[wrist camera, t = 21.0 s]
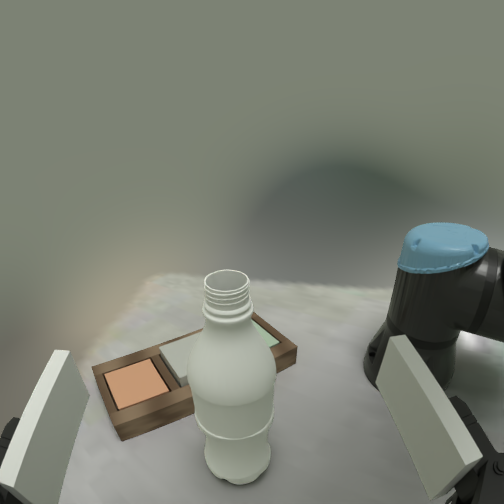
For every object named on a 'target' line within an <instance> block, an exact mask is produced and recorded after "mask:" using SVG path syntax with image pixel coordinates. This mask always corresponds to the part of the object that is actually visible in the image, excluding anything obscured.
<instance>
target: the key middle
mask: <svg viewBox="0 0 504 504" xmlns="http://www.w3.org/2000/svg"><path fill="white" fill-rule="evenodd" d="M200 334H201V332H199V333H196V334H194V335H191V336H188V337H185V338H183V339H180V340H177V341H174V342H172V343H169V344H166V345H163V346H160V347H159V350H160V354H161V359H162V361H163V363H164V364H165V366H166V367H167V369H168V370H169V372H170V373H171V375H172V376H173V378H174V379H175V381H176V382H177V384H178V385H179V387H180V388H181V387H184V386H186V385H189V383H188V379H187V364H188V359H189V356H190V353H191V351H192V349H193V346H194V344H195V342H196V341H197V339H198V337H199V335H200Z"/></svg>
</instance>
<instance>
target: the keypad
mask: <svg viewBox="0 0 504 504" xmlns="http://www.w3.org/2000/svg"><path fill="white" fill-rule="evenodd" d="M251 319H252V320H253V321H254V322H256V323H257V324H258V325H259V326H260V327H262V328H263V329H264V330H265V331H266V332H268V333H269V334H270V335H271V336H273V337H274V338H275V339H276V340H277V341H279V344H278V345H276V346H274V347H272V348H270V350H271V352H272V354H273V356H274V360H275V364H276V373H278V372H280V371H282V370H284V369H286V368H288V367H290V366H291V365H293V364H295V363H296V356H297V346H296V345H295V344H294V343H292V342H291V341H290V340H289V339H287V338H286V337H285V336H283V335H282V334H281V333H280V332H278V331H277V330H276V329H275V328H273V327H272V326H271V325H269V324H268V323H267V322H266V321H264V320H263V319H262V318H261V317H259V316H258V315H257V314H256V313H254V312H253V314H252V315H251ZM202 330H203V328H202V329H200V330H197V331H194V332H192V333H189V334H186V335H183V336H181V337H178V338H175V339H172V340H169V341H167V342H164V343H161V344H158V345H155V346H152V347H150V348H147V349H144V350H141V351H138V352H135V353H132V354H129V355H126V356H123V357H120V358H117V359H114V360H111V361H108V362H105V363H102V364H99V365H96V366H92V370H93V373H94V376H95V379H96V382H97V384H98V387H99V390H100V393H101V395H102V398H103V401H104V403H105V406H106V408H107V411H108V413H109V416H110V418H111V421H112V423H113V426H114V428H115V430H116V431H117V433H118V435H119V437H120V439H121V441H124V440H127V439H130V438H133V437H135V436H138V435H141V434H144V433H146V432H149V431H151V430H154V429H157V428H159V427H162V426H164V425H167V424H169V423H172V422H174V421H177V420H179V419H181V418H184V417H186V416H188V415H191V414H193V413H195V406H194V401H193V396H192V391H191V387H190V385H186V386H184V387H181V388H180V387H179V385H178V384H177V382H176V381H175V379H174V378H173V376H172V375H171V373H170V372H169V370H168V369H167V367H166V366H165V364H164V363H163V361H162V359H161V354H160V350H159V347H160V346H163V345H166V344H169V343H172V342H174V341H177V340H180V339H183V338H185V337H188V336H191V335H194V334H196V333H199V332H202ZM147 359H150V360H151V362H152V364H153V365H154V367H155V369H156V370H157V372H158V374H159V375H160V377H161V379H162V380H163V382H164V383H165V385H166V387H167V388H168V390H169V393H166V394H164V395H161V396H158V397H156V398H153V399H150V400H148V401H145V402H142V403H140V404H137V405H134V406H131V407H129V408H126V409H123V410H120V411H119V409H118V406H117V404H116V402H115V399H114V397H113V395H112V392H111V390H110V387H109V385H108V382H107V380H106V377H105V375H104V374H106V373H109V372H112V371H115V370H118V369H121V368H124V367H127V366H130V365H133V364H136V363H139V362H142V361H144V360H147Z"/></svg>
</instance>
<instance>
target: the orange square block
mask: <svg viewBox="0 0 504 504" xmlns="http://www.w3.org/2000/svg"><path fill="white" fill-rule="evenodd" d="M104 375H105V377H106V380H107V382H108V385H109V387H110V390H111V392H112V395H113V397H114V399H115V402H116V404H117V406H118V409H119V411H120V410H123V409H126V408H129V407H131V406H134V405H137V404H140V403H142V402H145V401H148V400H150V399H153V398H156V397H158V396H161V395H164V394H166V393H169V390H168V388H167V387H166V385H165V383H164V382H163V380H162V379H161V377H160V375H159V374H158V372H157V370H156V369H155V367H154V365H153V364H152V362H151V360H150V359H147V360H144V361H142V362H139V363H136V364H133V365H130V366H127V367H124V368H121V369H118V370H115V371H112V372H109V373H106V374H104Z"/></svg>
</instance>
